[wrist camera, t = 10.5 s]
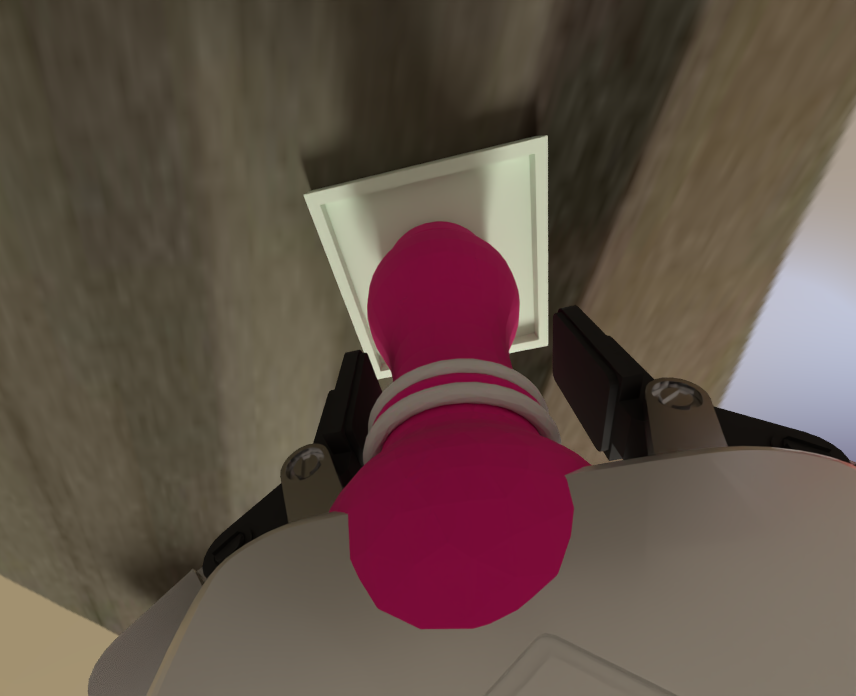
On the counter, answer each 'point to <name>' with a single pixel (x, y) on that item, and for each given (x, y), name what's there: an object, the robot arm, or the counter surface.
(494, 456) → the pepper mill
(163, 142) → the counter surface
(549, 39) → the counter surface
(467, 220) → the tray
